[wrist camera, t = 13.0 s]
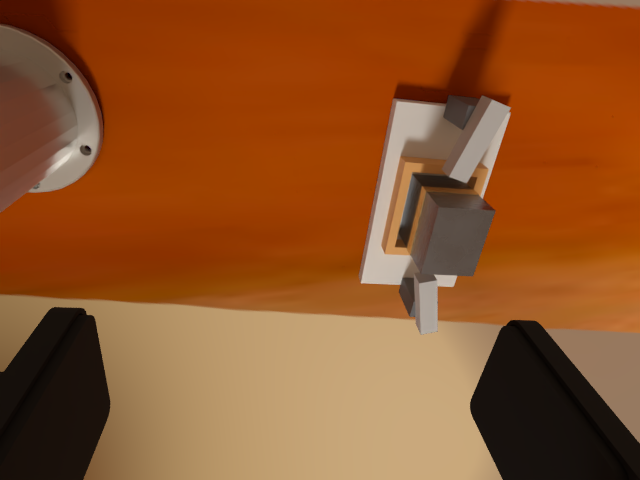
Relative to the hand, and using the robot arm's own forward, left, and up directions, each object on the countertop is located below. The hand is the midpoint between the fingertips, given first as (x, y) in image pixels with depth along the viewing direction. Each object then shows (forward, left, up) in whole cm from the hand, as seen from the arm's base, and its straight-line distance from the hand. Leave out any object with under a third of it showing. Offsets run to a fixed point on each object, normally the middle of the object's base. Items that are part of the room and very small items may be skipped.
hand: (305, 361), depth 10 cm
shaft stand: (+7, -14, -28) cm, 32 cm away
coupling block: (+7, -14, -27) cm, 31 cm away
